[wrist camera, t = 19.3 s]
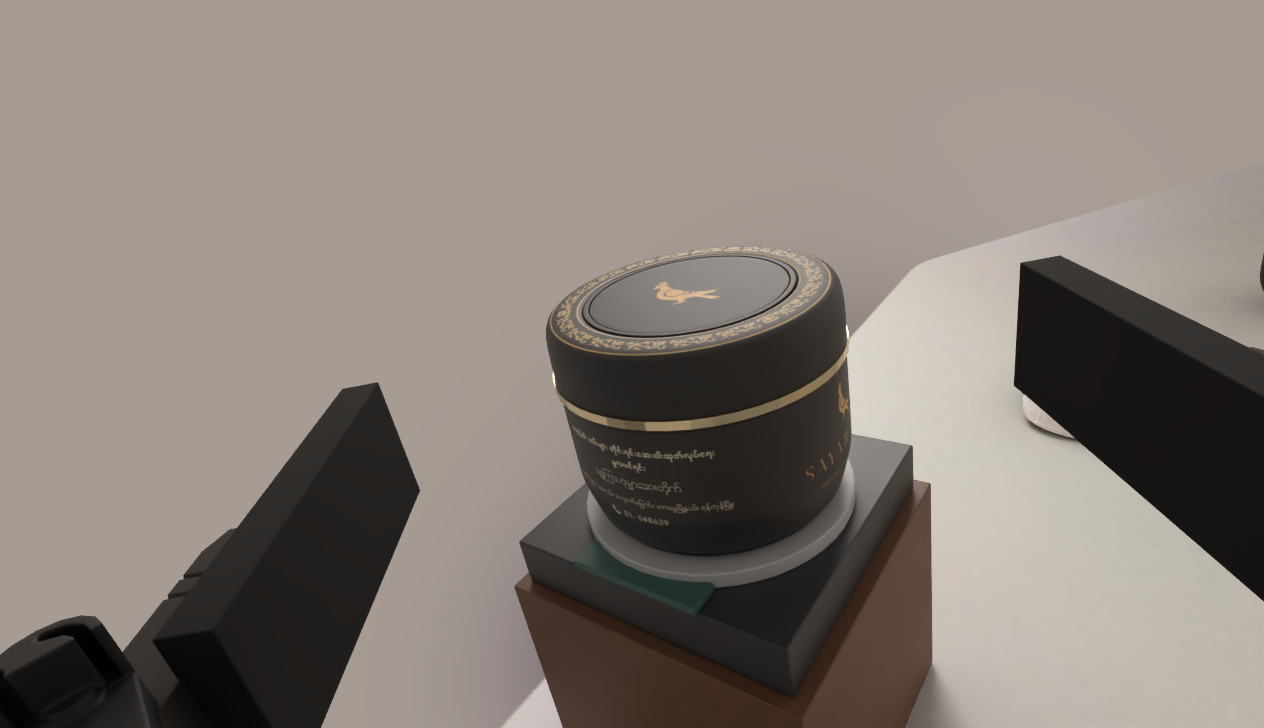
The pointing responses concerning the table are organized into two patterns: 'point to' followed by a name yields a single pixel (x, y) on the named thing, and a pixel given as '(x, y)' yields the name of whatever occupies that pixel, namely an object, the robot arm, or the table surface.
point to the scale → (741, 614)
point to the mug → (1262, 274)
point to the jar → (707, 395)
